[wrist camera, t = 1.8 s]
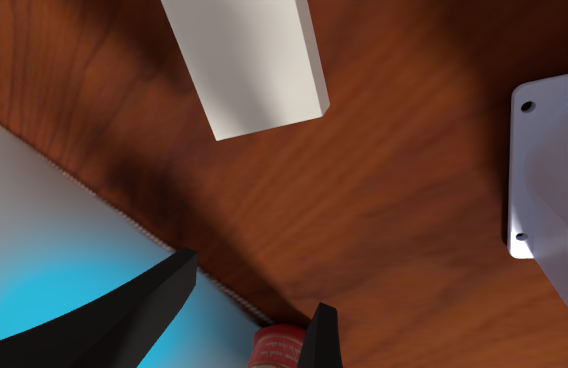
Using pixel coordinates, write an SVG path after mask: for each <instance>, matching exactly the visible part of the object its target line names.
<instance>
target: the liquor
mask: <svg viewBox="0 0 568 368" xmlns="http://www.w3.org/2000/svg"><path fill="white" fill-rule="evenodd" d="M306 331H307V330H305V329H304V328H302V327H300V326H297V325H295V324H290V323H280V324H276V325H272V326H269V327H265V328H262V329H260V330H258V331H257V332H256V333H255V334H254V337H253V353H252V355H251V358H250V360H249V362H248V365H247V367H246V368H297V365H298V360H299V356H300V352H301V348H302V345H303V341H304V338H305V334H306Z"/></svg>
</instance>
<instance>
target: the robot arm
mask: <svg viewBox="0 0 568 368" xmlns="http://www.w3.org/2000/svg"><path fill="white" fill-rule="evenodd" d="M528 101H531V103H532V105H531V107H530V108H529V109H528V110H526V111H521V107H522V105H523V104H524V103H525V102H528ZM519 233H524V234H523V235H522V236H516V235H517V234H519ZM507 249H508V251H509V253H510V255H512V256H513V257H515V258H534V259H535V260H536V262H537V263H538V264H539V266H540V267H541V269H542V270H543V272H544V273H545V275H546V276H547V277H548V279H549V280H550V282H551V283H552V285H553V286H554V288H555V289H556V290H557V292H558V293H559V295H560V296H561V298H562V299H563V301H564V302H565V303H566V305H567V306H568V74H565V75H560V76H555V77H551V78H546V79H541V80H537V81H532V82H527V83H524V84H521V85H520V86H518V87H517V88H516V89H515V90H514V91H513V93H512V97H511V132H510V168H509V203H508V239H507ZM197 260H198V252H196V251H193V250H191V249H188V248H186V247H184V248H182V249H180V250H179V251H177V252H175V253H174V254H172V255H171V256H170V257H168V258H166V259H165V260H163V261H162V262H160V263H158V264H157V265H155V266H154V267H152V268H151V269H149V270H147V271H146V272H144V273H142V274H141V275H139V276H137V277H136V278H134V279H132V280H131V281H129V282H127V283H125V284H124V285H122V286H120V287H118V288H117V289H114V290H113V291H111V292H109V293H107V294H105V295H103V296H101V297H100V298H98V299H96V300H94V301H92V302H90V303H88V304H86V305H84V306H82V307H80V308H77V309H75V310H73V311H71V312H69V313H67V314H64V315H62V316H60V317H58V318H55V319H53V320H51V321H48V322H46V323H44V324H42V325H39V326H36V327H34V328H32V329H29V330H27V331H24V332H21V333H19V334H16V335H13V336H10V337H8V338H5V339H2V340H0V368H137V366H138V365H139V364H140V362H141V361H142V359H143V358H144V357H145V356H146V354H147V353H148V352H149V350H150V349H151V348H152V346H153V345H154V344H155V342H156V341H157V340H158V339H159V337H160V336H161V335H162V333H163V332H164V331H165V329H166V328H167V327H168V325H169V324H170V323H171V322H172V320H173V319H174V318H175V316H176V315H177V314H178V312H179V311H180V310H181V308H182V307H183V305H184V303H185V302H186V300H187V299H188V297H189V295H190V294H191V292H192V290H193V289H194V287H195V285H196V272H197ZM297 368H343V366H342V360H341V352H340V344H339V335H338V321H337V310H336V308H333V307H331V306H328V305H326V304H323V303H321V302H320V303H319V305H318V307H317V310H316V312H315V314H314V316H313V318H312V320H311V322H310V325H309V327H308V329H307V331H306V334H305V338H304V341H303V345H302V348H301V352H300V356H299V360H298V365H297Z"/></svg>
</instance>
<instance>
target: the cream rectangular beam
mask: <svg viewBox="0 0 568 368" xmlns="http://www.w3.org/2000/svg"><path fill="white" fill-rule="evenodd" d="M161 2H162V4H163V7H164V9H165V12H166V14H167V17H168V20H169V22H170V25H171V27H172V30H173V32H174V35H175V37H176V40H177V42H178V45H179V47H180V50H181V52H182V55H183V57H184V60H185V62H186V65H187V67H188V70H189V72H190V75H191V77H192V80H193V83H194V85H195V88H196V90H197V93H198V95H199V98H200V100H201V103H202V105H203V108H204V110H205V113H206V115H207V118H208V120H209V123H210V125H211V128H212V130H213V133H214V135H215V138H216V141H217V140H221V139H226V138H230V137H235V136H239V135H243V134H248V133H252V132H257V131H261V130H265V129H270V128H274V127H278V126H283V125H287V124H292V123H296V122H300V121H305V120H309V119H314V118H318V117H322V116H323V115H324V113H325V112H326V110H327V109H328V107H329V106H330V102H329V98H328V93H327V89H326V84H325V80H324V75H323V71H322V66H321V62H320V57H319V53H318V48H317V44H316V39H315V35H314V30H313V26H312V21H311V17H310V12H309V7H308V3H307V0H161Z"/></svg>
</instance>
